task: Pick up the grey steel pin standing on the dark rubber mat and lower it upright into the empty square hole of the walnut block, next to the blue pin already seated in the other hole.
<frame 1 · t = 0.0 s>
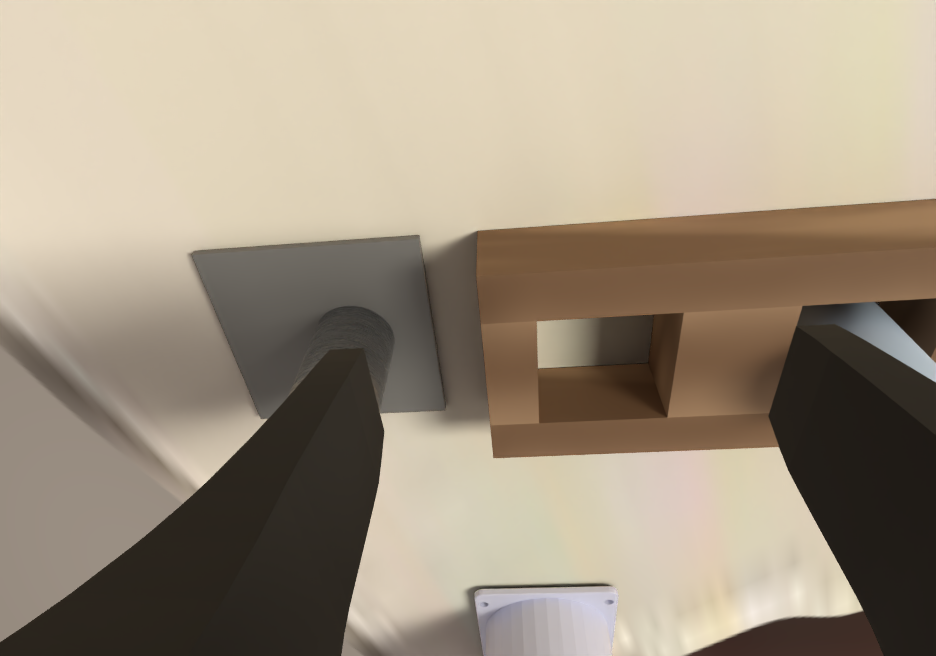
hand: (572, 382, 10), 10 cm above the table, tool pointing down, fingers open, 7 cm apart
steel pin: (355, 338, 22), resting on rubber mat
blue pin: (814, 307, 21), resting in walnut hole block
rubber mat: (331, 335, 22), on the table
walnut hole block: (702, 314, 21), on the table
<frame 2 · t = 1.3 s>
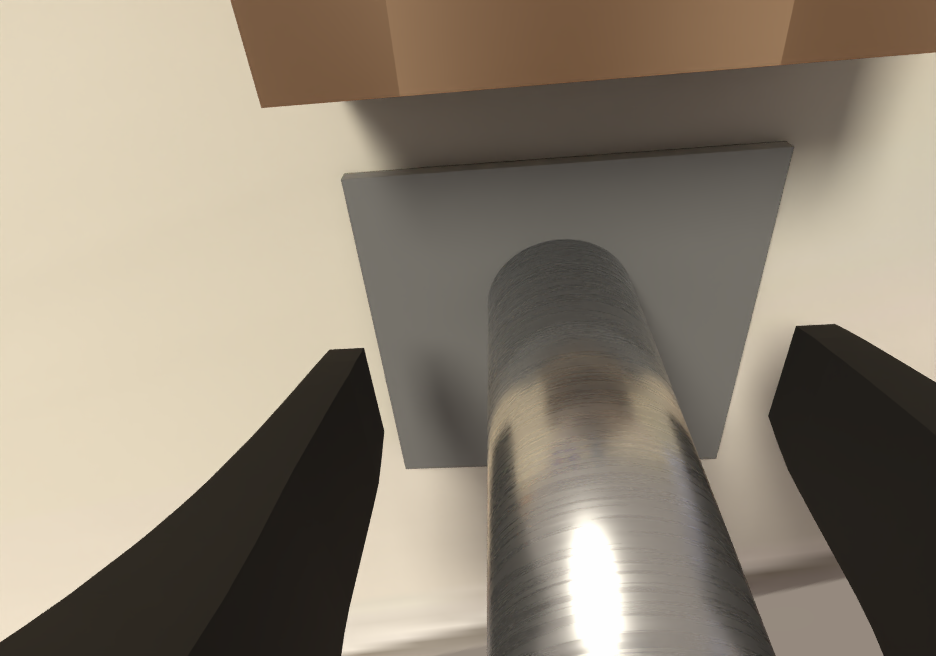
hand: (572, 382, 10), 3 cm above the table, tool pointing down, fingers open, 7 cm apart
steel pin: (559, 303, 12), resting on rubber mat
rubber mat: (557, 333, 13), on the table
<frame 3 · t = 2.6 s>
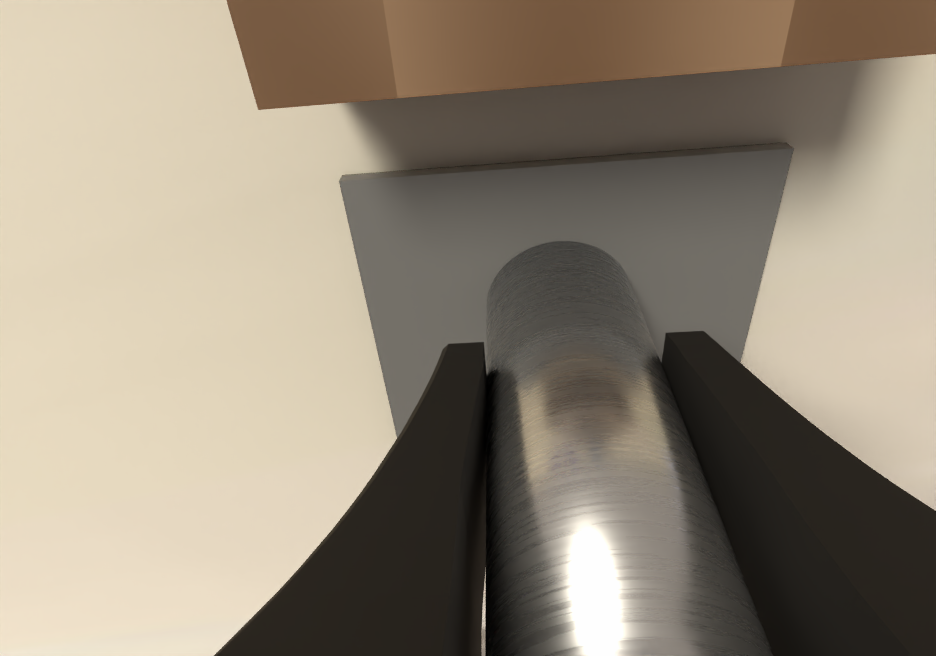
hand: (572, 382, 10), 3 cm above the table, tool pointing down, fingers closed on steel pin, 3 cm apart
steel pin: (558, 305, 12), resting on rubber mat, touching gripper
rubber mat: (557, 335, 13), on the table
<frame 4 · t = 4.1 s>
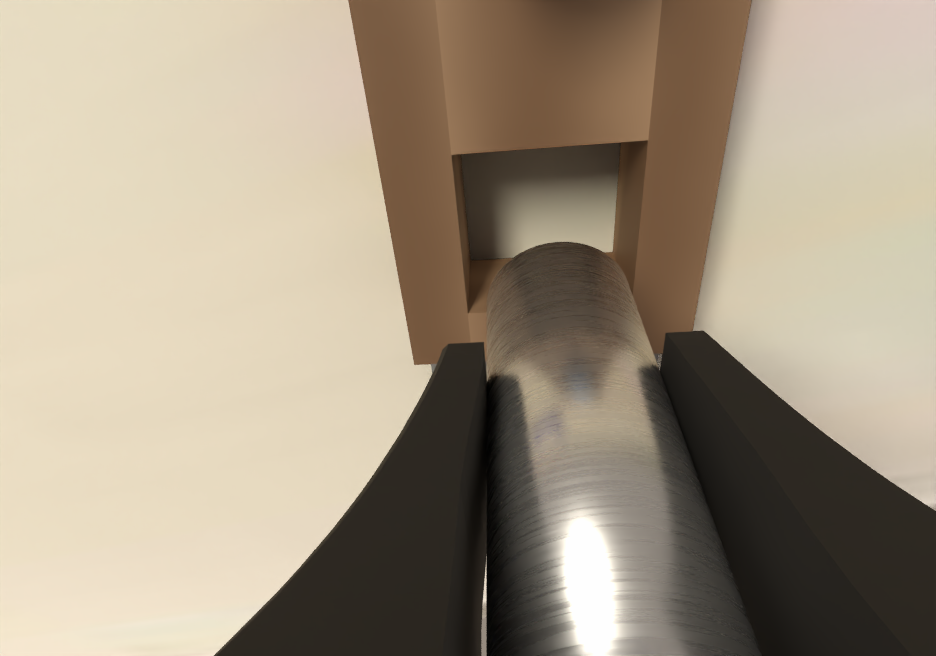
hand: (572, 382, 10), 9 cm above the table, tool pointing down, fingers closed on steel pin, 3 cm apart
steel pin: (557, 304, 12), point 6 cm above the table, touching gripper
walnut hole block: (538, 40, 15), on the table
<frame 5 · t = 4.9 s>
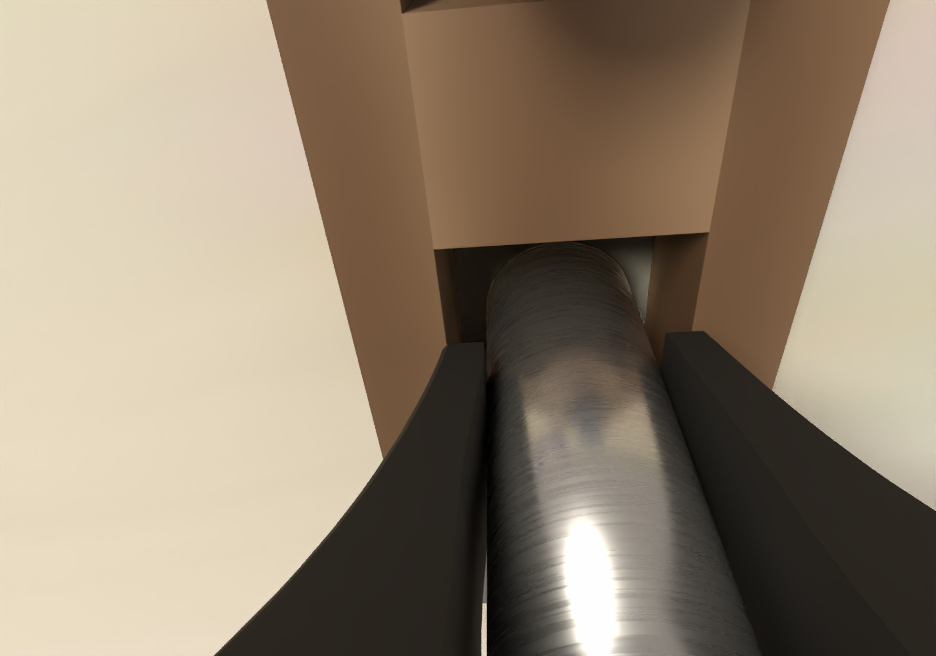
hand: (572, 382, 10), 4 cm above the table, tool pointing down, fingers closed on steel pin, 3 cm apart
steel pin: (557, 304, 12), point 1 cm above the table, touching gripper
walnut hole block: (552, 84, 11), on the table
when the fingers open (4 cm above the table, at t = 5.6 s): steel pin drops 1 cm, resting in walnut hole block.
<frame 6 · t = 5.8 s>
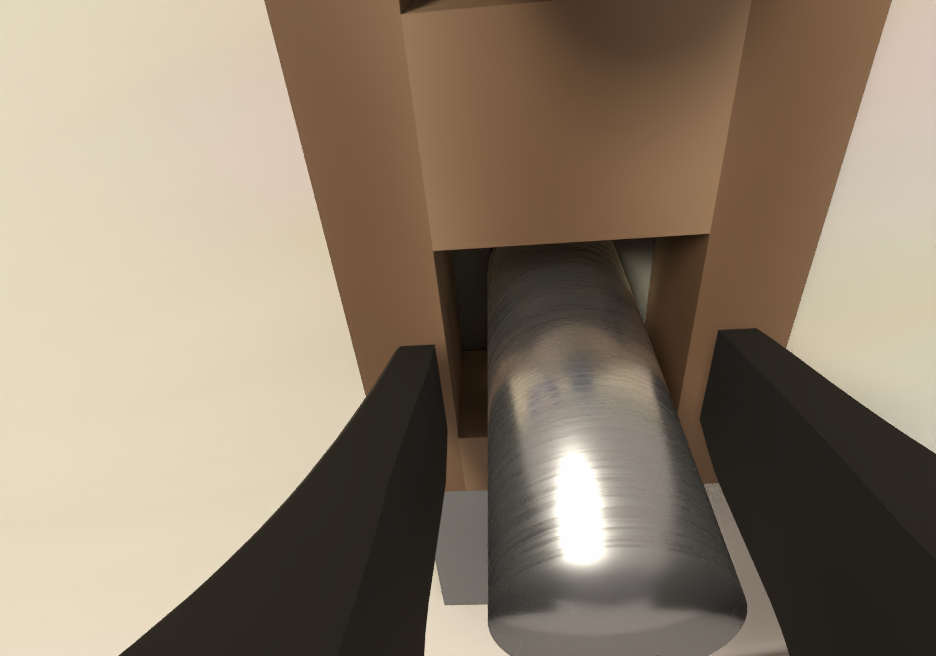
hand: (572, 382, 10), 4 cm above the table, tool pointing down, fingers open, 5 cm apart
steel pin: (552, 272, 13), resting in walnut hole block
rubber mat: (551, 530, 19), on the table
walnut hole block: (552, 85, 11), on the table
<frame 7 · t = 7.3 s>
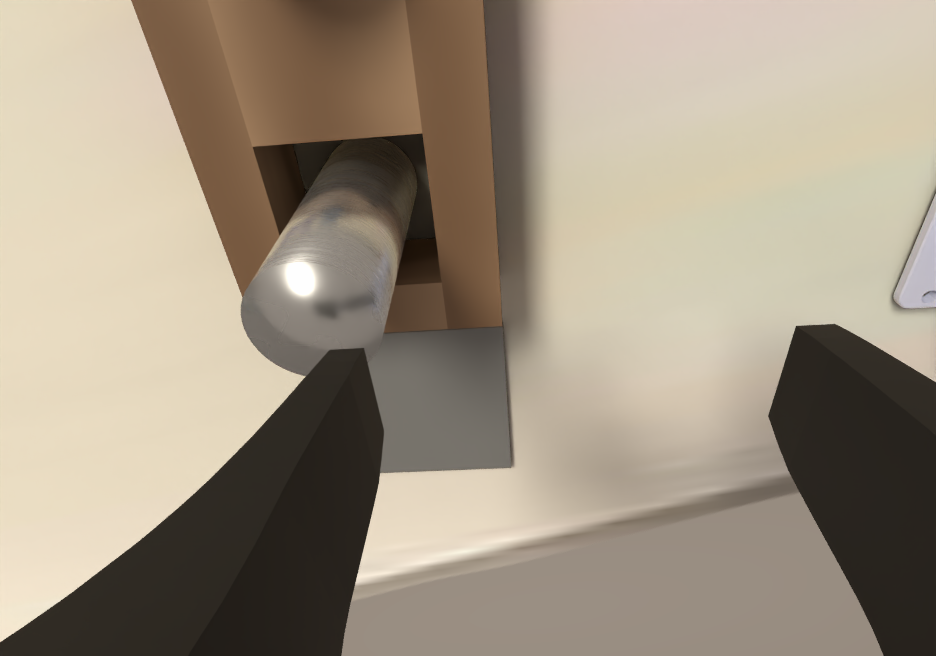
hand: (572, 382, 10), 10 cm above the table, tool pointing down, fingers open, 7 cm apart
steel pin: (371, 182, 19), resting in walnut hole block
rubber mat: (413, 403, 24), on the table
walnut hole block: (344, 44, 16), on the table
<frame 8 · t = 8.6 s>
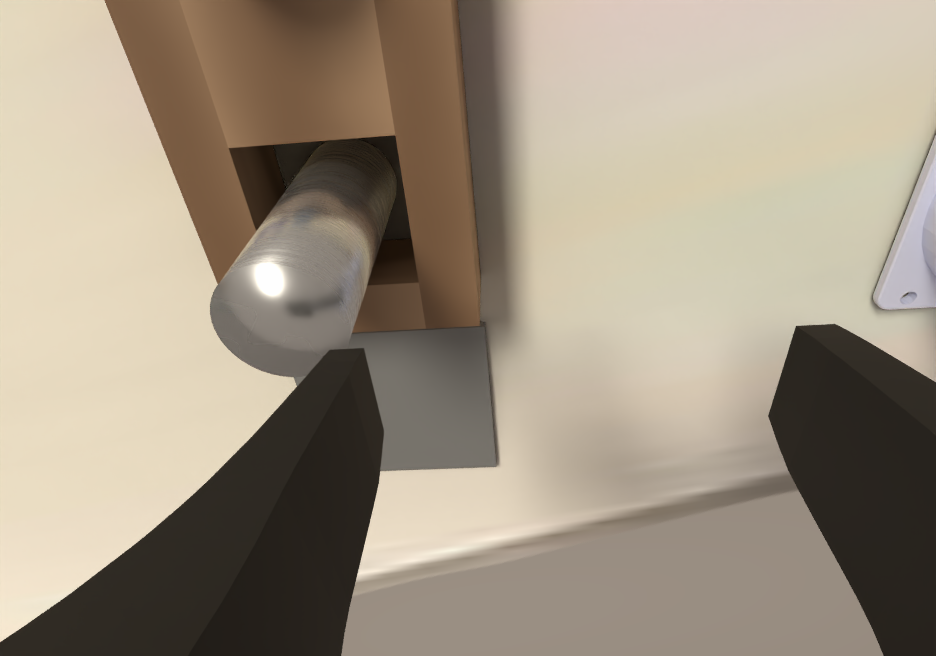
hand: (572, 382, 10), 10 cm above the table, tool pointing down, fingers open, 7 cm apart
steel pin: (351, 182, 19), resting in walnut hole block
rubber mat: (398, 402, 25), on the table
walnut hole block: (322, 47, 16), on the table
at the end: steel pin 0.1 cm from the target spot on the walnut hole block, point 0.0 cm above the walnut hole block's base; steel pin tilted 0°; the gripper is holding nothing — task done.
